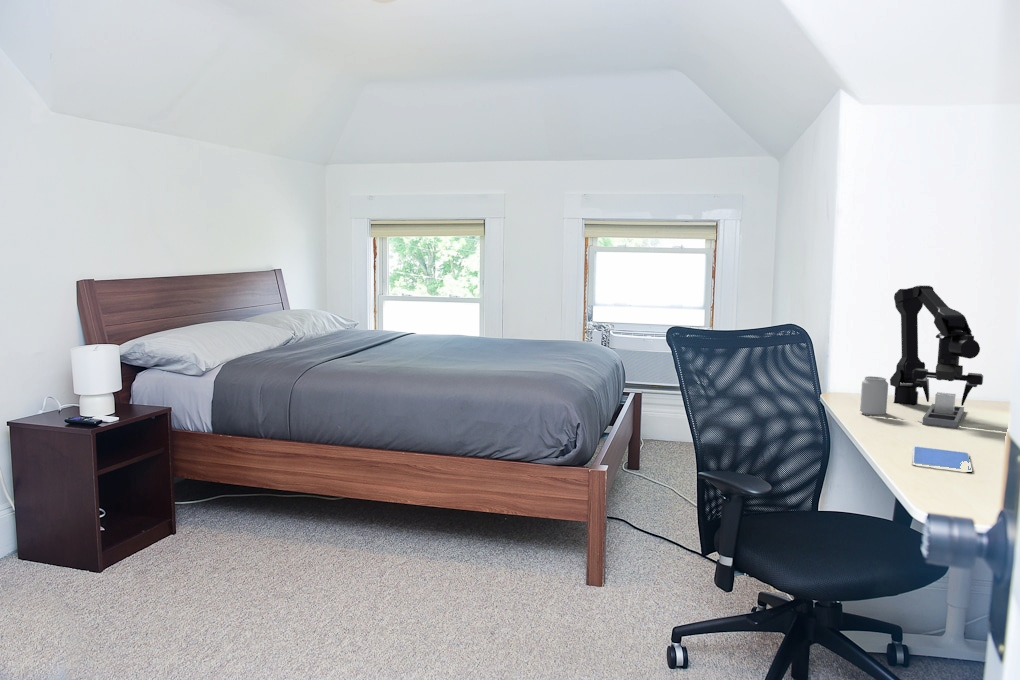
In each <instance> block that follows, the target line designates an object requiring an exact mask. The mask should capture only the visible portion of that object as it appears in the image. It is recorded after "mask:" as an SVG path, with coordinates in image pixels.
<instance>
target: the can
mask: <svg viewBox="0 0 1020 680" xmlns="http://www.w3.org/2000/svg"><path fill="white" fill-rule="evenodd" d="M860 392H861V394H860V408H859V409H860V410H859V411H860V412H861V413H862V415H864V414H866V415H865V416H868V415H872V416H871V417H875V416H883V415H886V414H887V408H888V407H887V405H888V396H889V395H888V392H889V383H888V382H887V378H885V377H882V376H872V375H871V376H869V375H868V376H864V379H863V380H862V381H861V391H860Z"/></svg>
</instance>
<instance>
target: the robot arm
mask: <svg viewBox="0 0 1020 680" xmlns="http://www.w3.org/2000/svg"><path fill="white" fill-rule="evenodd" d="M893 299H894V305H895V309H896V310H897V311H898V313H899V314H900V319H901V320H900V328H901V329H900V333H901V357H900V359H899V361H898V362H897V363H896V366H895V367H896V369H895V372H894V373H893V375H892V376H891V377H890V379H889V383H890V386H892V387H894V398H893V399H894V400H893V402H892V403H893V404H897V405H908V406H916V405H917V404H919V391H918V390H917V389H918V388H921V389H923V393H924V397H925V399H926V402H927V403H929V402H930V382H929V381H930V379H935V380H937V381H948V382H953V381H964V382H966V383H965V386H964V390H963V393H962V394H963V395H962V398H961V405H960V407H964V403H965V401H966V399H967V397H968V395H969V393H970V392H971V390H972V389H973V388H978V386H983V383H984V375H983V374H982V373H979V372H978V373H976V372H968V373H967V374H963V372H964V366H963V365H960V357H961V358H965V359H970V360H971V359H974V358H976V357H977V356H978V355H979V354H980V351H981V347H980V344H979V342H978V341H977V340H975V336H974V335H973V333H972V329H971V328H970V326H969V323H968V320H967V318H966V316H965V315H964V314H963V313H961V312H960V311H959V310H956V309H953V308H951V307H949V306H948V305H947V303H945V301H944V300H943V299H942V298H941V297H940V296H939V295H938V294H937V293H936V292H935V289H934V287H933V286H931V285H915V286H913V287H909V288H899V289H898V290H897V291H896V292H895V293H894V295H893ZM923 306H924V308H926V309H927V310H928V312H929V313H930V314H931V315H932V316H933V318H934V320H933V324H934V325H935V327H936V330H937V331H938V332H939V333H937V334H936V336H935V338H936V339H938V350H937V364H936V366H935V372H933V371H929V369H928V368H926V363H925V362H924V361H922V360H921V359H920V357H919V330H918V327H919V326H918V325H919V324H918V315H919V313H920V312H921V310H922V309H923Z"/></svg>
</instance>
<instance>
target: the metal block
mask: <svg viewBox="0 0 1020 680" xmlns="http://www.w3.org/2000/svg"><path fill="white" fill-rule="evenodd" d="M956 394H957V393H949V392H948V393H947V392H939V391H937V392H936V393H935V395H934V396H935V399H934V404H935V409H934V413H938V414H946V415H954V409H955V406H956V396H957V395H956Z"/></svg>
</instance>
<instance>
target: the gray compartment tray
mask: <svg viewBox="0 0 1020 680" xmlns="http://www.w3.org/2000/svg"><path fill="white" fill-rule="evenodd" d="M934 409H935V403H931V405H930V406H929V408H928V410H927V411H926V412H925V413H924V415H923V416H922V421H921V422H922V423H921V424H922V425H924V426H926V425H927V426H932V427H933V426H934V427H943V428H950V429H958V428H959V424H960V421H961V419H962V417H963V415H964V412H965V406H957V405H955V409H954V415H946V414H938V413H934Z"/></svg>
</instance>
